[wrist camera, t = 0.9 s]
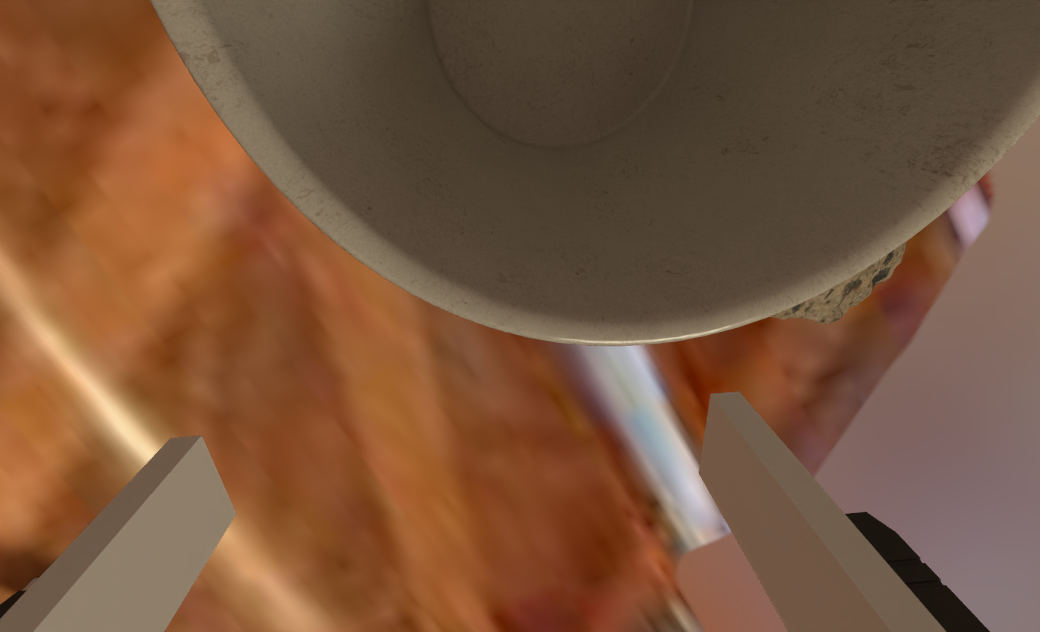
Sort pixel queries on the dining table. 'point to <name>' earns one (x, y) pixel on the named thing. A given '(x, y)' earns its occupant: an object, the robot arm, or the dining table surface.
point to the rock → (845, 292)
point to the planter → (617, 142)
